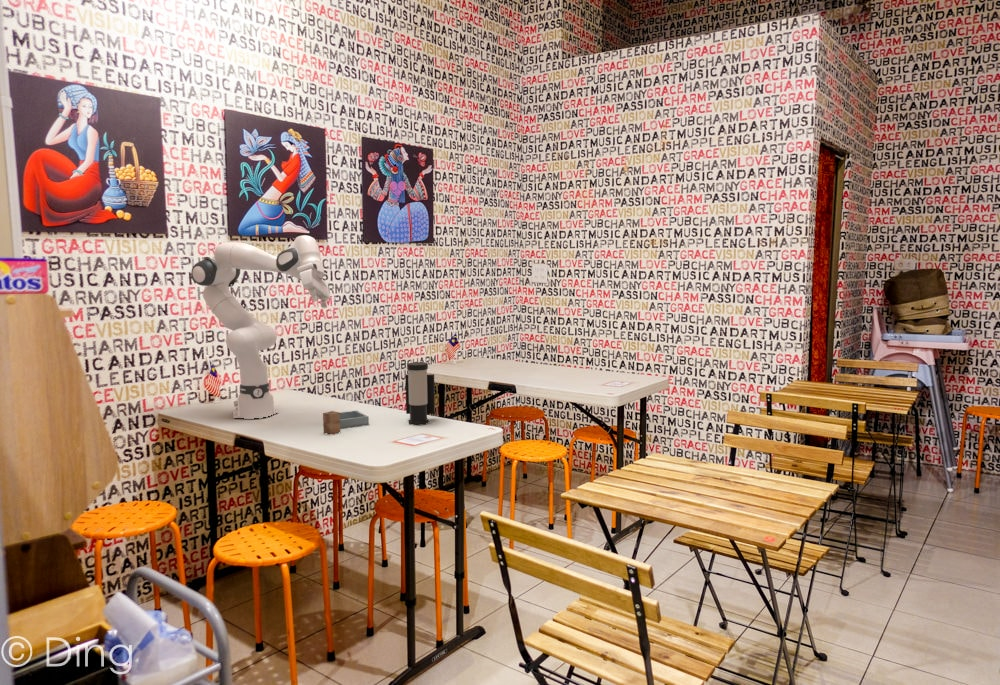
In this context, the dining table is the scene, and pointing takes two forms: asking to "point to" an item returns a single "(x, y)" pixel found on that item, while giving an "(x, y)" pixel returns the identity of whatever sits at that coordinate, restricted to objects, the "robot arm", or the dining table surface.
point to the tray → (353, 419)
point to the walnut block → (331, 422)
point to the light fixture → (419, 393)
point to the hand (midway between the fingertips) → (320, 304)
